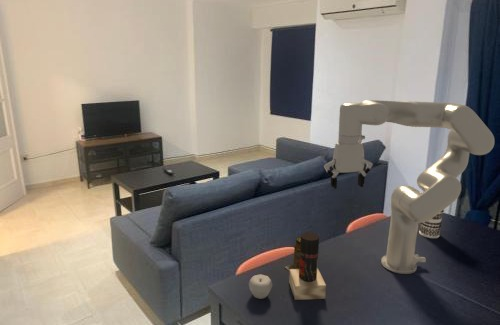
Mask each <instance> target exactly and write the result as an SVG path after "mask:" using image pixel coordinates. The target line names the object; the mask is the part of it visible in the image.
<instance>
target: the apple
mask: <svg viewBox="0 0 500 325" xmlns="http://www.w3.org/2000/svg"><path fill="white" fill-rule="evenodd" d="M248 287H249V290H250V292H251V294H252V295H253V297H254V298H256V299H258V300H259V299H260V300H262V299H265V298H267V297H268V295H269V293H270V292H271V290H272V287H273V283H272V279H271V278H270V277H269V276H268V275H264V274H261V273H260V274H259V273H258V274H256V275H253V276H252V277H251V278H250V279H249V281H248Z"/></svg>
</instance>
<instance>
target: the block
mask: <svg viewBox="0 0 500 325" xmlns="http://www.w3.org/2000/svg"><path fill="white" fill-rule="evenodd" d="M288 280H289V281H288V283H289V285H290V288H291V292H292V295H293V299H294V300H295V301H296V300H297V301H298V300H300V301H302V300H321V299H324V300H325V299H326V291H327V284H326V282H325V280H324V278H323V276H322V274H321V272H320V270H319V268H318V267H317V278H316V280H315V281H313V282H305V281H303V280H301V279H300V278H299V269H290V271H289V278H288Z"/></svg>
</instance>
